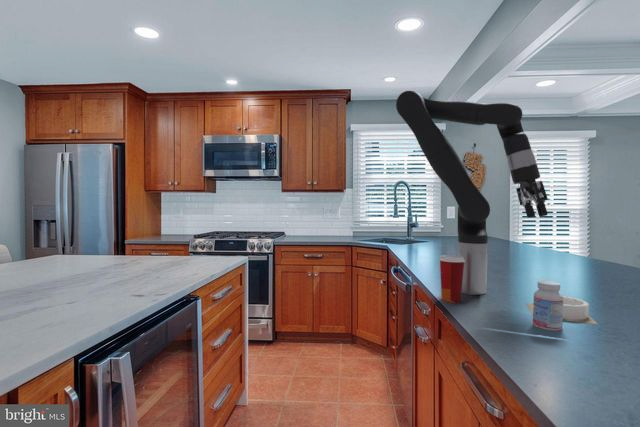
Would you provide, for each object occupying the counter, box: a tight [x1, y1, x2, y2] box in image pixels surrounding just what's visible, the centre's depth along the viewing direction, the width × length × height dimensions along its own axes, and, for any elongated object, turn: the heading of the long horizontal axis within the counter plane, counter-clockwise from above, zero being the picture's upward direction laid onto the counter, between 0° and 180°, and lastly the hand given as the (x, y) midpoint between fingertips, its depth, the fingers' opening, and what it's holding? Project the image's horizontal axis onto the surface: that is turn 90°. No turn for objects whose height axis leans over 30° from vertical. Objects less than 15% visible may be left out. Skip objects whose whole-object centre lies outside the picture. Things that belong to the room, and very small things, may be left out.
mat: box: [525, 302, 598, 325], centre depth 96 cm, size 14×14×1 cm
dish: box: [562, 295, 590, 320], centre depth 96 cm, size 11×11×4 cm
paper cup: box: [438, 254, 465, 304], centre depth 109 cm, size 8×8×14 cm
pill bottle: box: [532, 280, 564, 331], centre depth 85 cm, size 6×6×11 cm
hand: (537, 216), depth 108 cm, fingers open, 8 cm apart
